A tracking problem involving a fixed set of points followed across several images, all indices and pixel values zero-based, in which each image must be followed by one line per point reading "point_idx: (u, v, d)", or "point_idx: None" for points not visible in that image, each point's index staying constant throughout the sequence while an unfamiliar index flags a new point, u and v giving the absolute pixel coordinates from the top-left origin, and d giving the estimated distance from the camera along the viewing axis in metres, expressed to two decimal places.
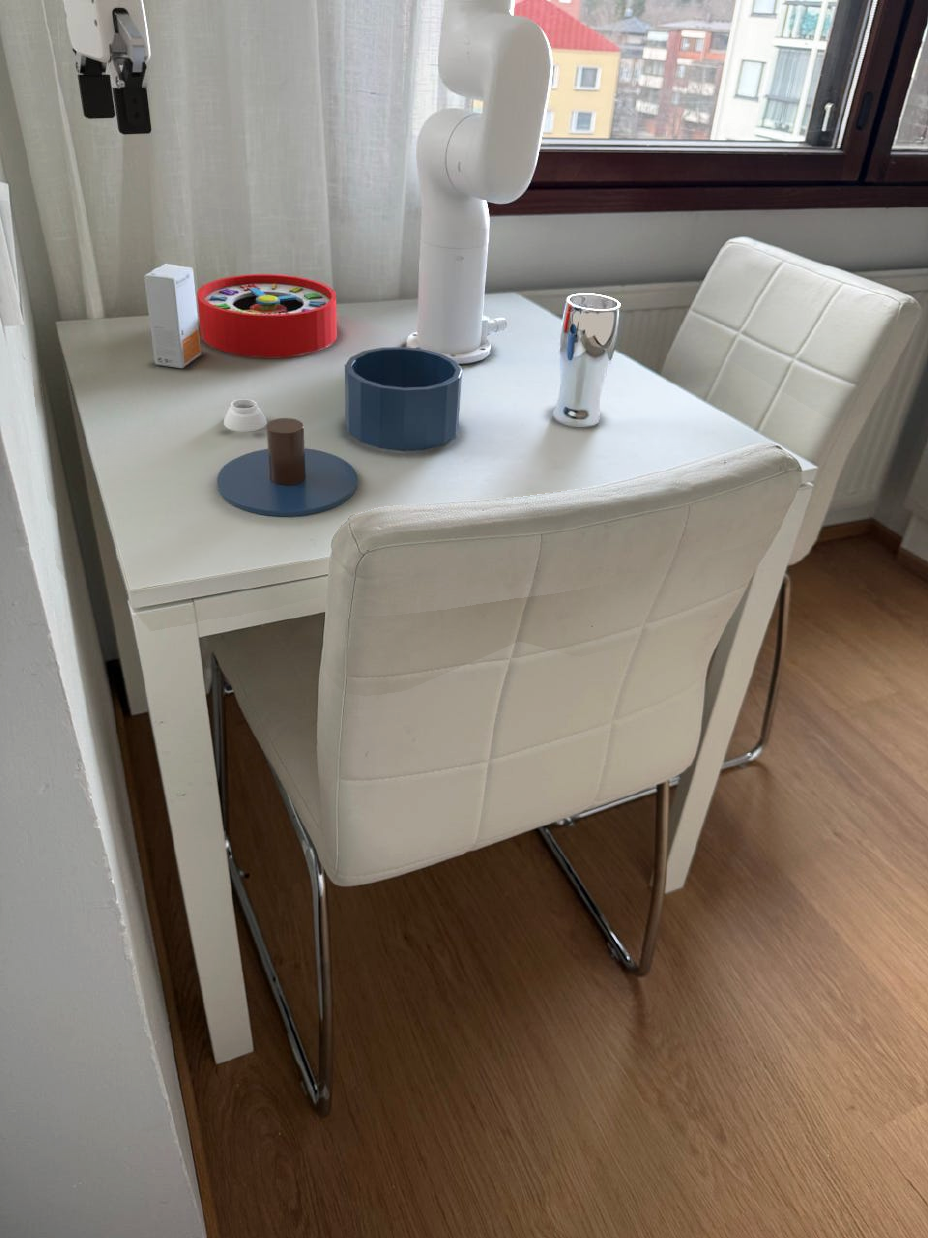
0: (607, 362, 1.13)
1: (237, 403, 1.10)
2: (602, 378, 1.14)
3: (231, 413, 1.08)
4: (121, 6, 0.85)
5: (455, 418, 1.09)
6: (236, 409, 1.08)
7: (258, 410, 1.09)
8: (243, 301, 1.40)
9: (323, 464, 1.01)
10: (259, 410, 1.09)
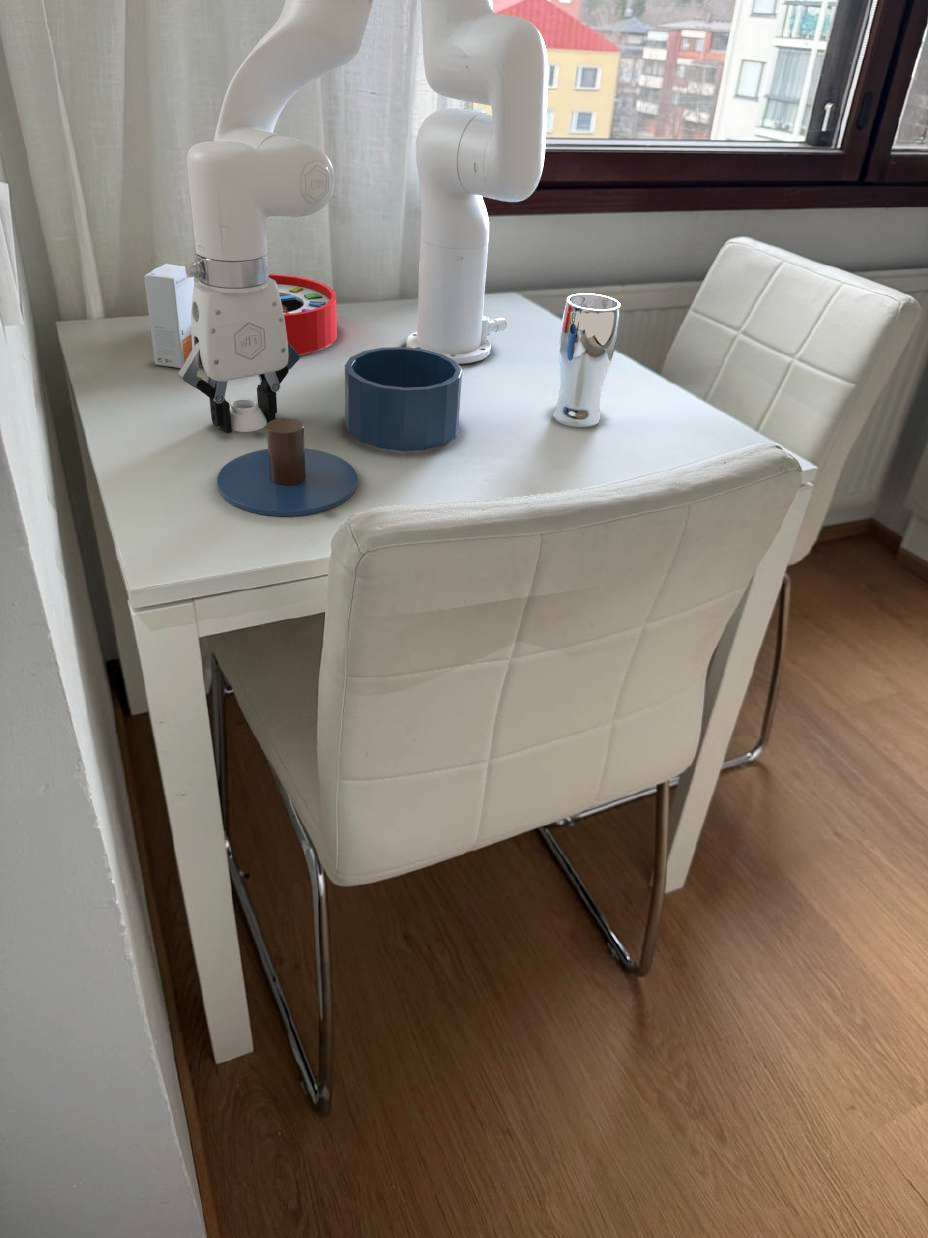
0: (607, 362, 1.13)
1: (237, 403, 1.10)
2: (602, 378, 1.14)
3: (231, 413, 1.08)
4: (196, 336, 1.01)
5: (455, 418, 1.09)
6: (236, 409, 1.08)
7: (258, 410, 1.09)
8: None
9: (323, 464, 1.01)
10: (259, 410, 1.09)
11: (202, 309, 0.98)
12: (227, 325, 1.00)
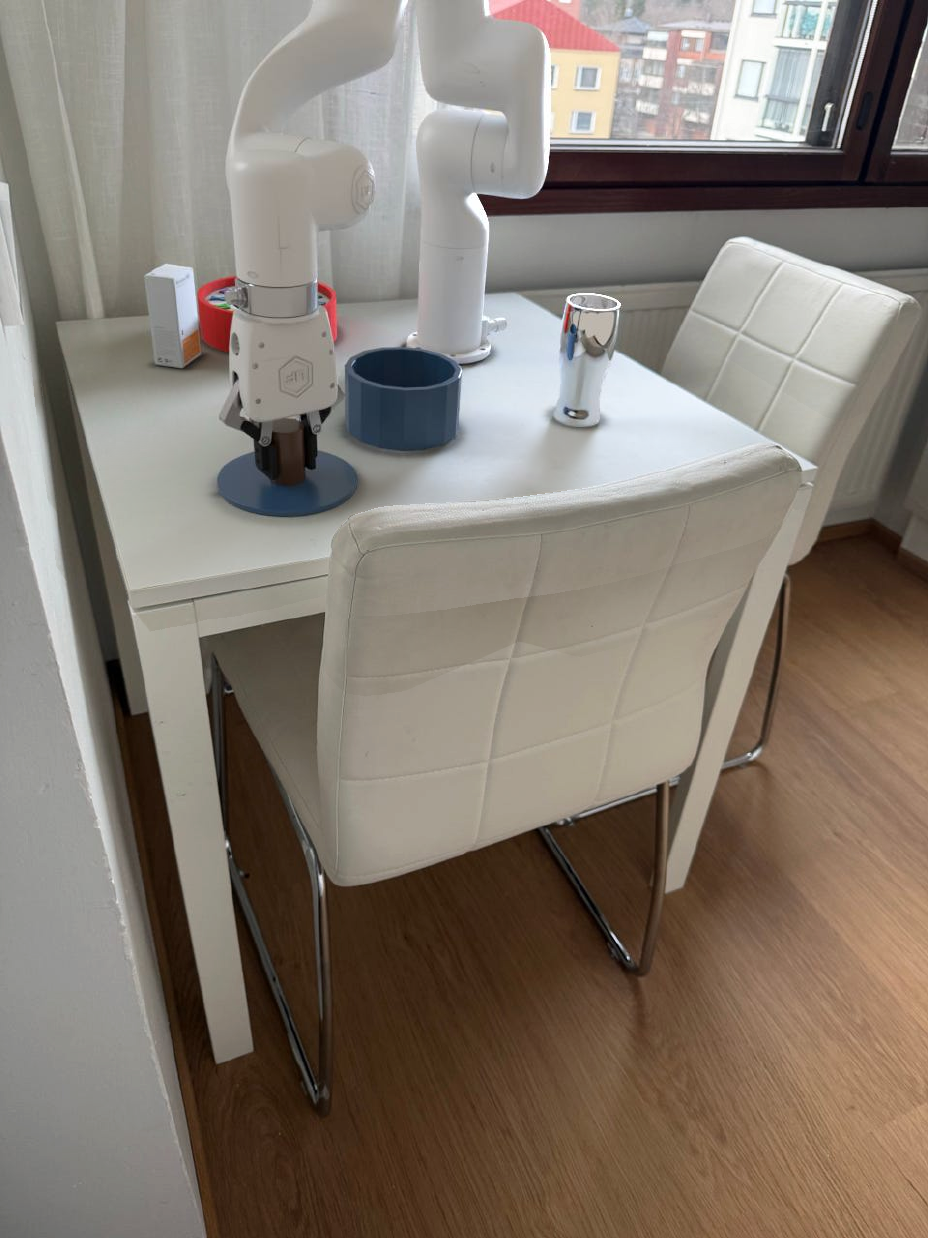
0: (607, 362, 1.13)
1: None
2: (602, 378, 1.14)
3: None
4: (235, 371, 0.88)
5: (455, 418, 1.09)
6: None
7: None
8: None
9: (323, 464, 1.01)
10: None
11: (243, 342, 0.86)
12: (271, 359, 0.87)
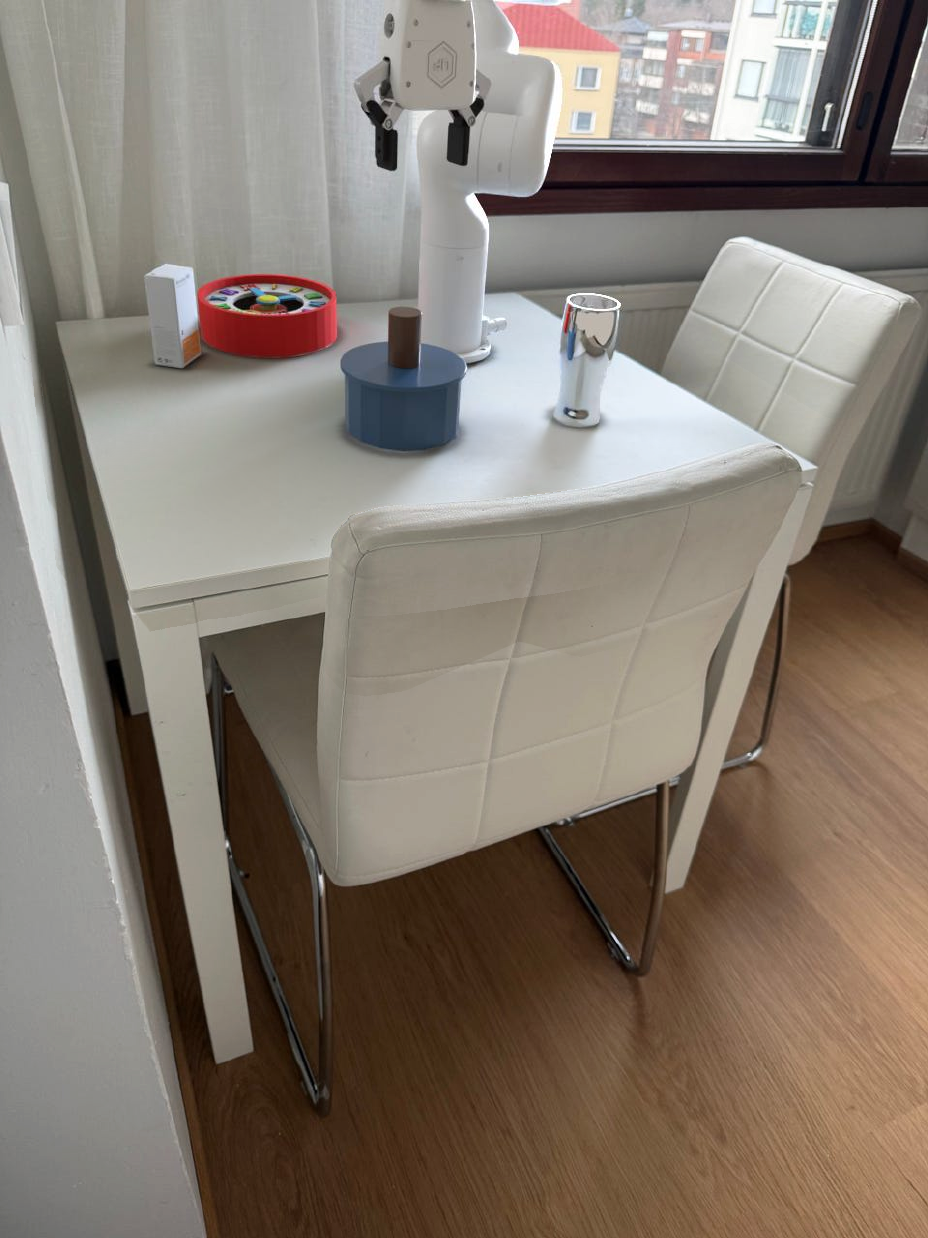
0: (607, 362, 1.13)
1: None
2: (602, 378, 1.14)
3: None
4: (387, 55, 0.94)
5: (455, 418, 1.09)
6: None
7: None
8: (243, 301, 1.40)
9: (432, 353, 1.11)
10: None
11: (399, 19, 0.91)
12: (423, 40, 0.93)
